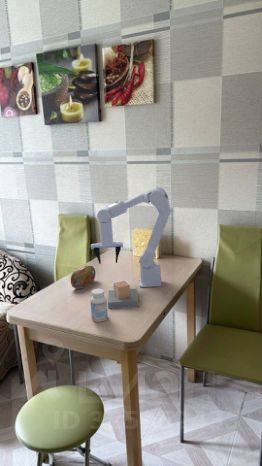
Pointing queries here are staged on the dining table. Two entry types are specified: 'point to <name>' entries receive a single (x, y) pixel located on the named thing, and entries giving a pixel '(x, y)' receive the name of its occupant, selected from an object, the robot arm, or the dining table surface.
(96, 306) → the pill bottle
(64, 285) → the dining table surface
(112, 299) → the gray block
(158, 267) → the robot arm
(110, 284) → the dining table surface
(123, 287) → the terracotta cube
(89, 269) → the tin
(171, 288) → the dining table surface
